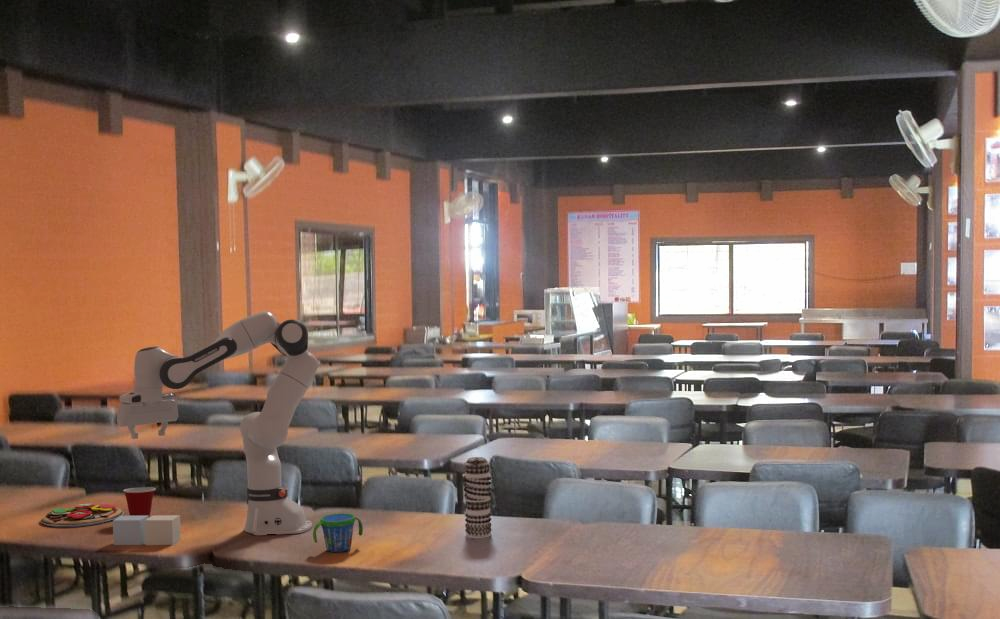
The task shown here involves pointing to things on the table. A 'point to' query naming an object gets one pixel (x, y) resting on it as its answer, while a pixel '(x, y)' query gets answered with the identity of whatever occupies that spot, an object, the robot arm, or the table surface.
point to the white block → (129, 530)
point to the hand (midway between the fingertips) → (148, 437)
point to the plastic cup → (139, 500)
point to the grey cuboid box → (162, 530)
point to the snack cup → (337, 531)
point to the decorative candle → (477, 498)
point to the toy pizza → (81, 515)
